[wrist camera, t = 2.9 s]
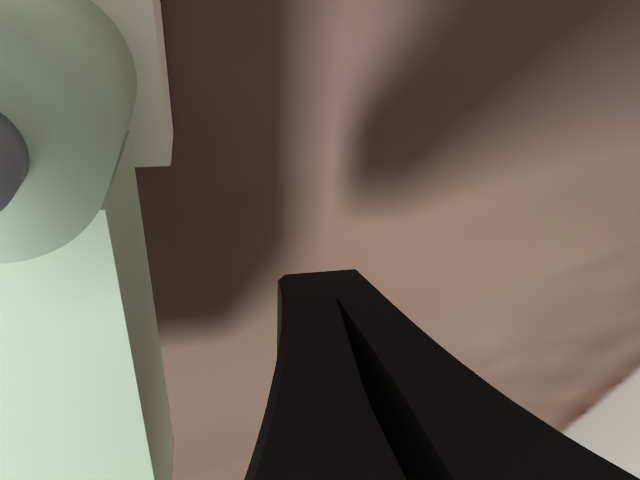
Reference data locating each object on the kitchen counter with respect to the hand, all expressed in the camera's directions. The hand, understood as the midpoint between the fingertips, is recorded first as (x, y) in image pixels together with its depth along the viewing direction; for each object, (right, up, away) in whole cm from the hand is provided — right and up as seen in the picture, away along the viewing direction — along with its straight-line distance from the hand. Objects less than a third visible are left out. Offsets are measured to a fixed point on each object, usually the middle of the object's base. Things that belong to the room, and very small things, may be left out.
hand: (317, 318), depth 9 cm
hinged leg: (-4, +1, -1) cm, 4 cm away
